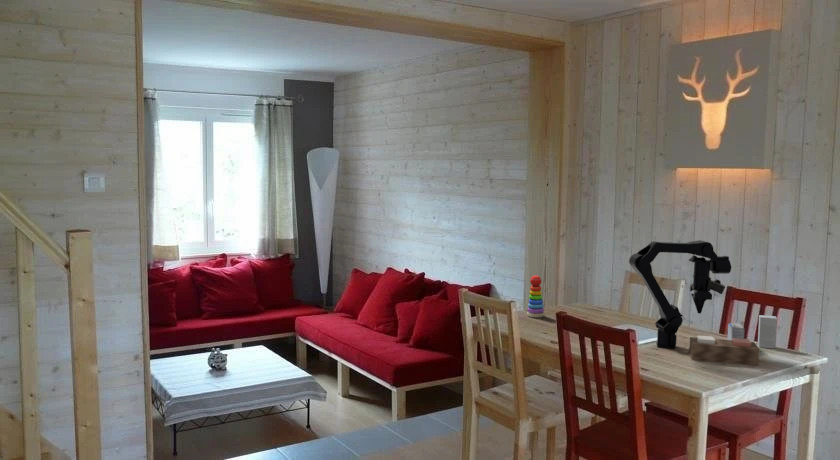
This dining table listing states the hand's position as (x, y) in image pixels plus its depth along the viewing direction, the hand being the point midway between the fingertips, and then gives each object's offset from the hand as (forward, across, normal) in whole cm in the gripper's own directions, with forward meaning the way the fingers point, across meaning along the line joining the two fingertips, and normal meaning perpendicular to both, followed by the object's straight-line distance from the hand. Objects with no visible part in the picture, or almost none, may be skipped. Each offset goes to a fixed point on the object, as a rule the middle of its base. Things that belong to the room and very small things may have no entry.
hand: (699, 313), depth 273 cm
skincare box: (+13, +8, -26) cm, 30 cm away
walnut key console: (+13, -16, -7) cm, 22 cm away
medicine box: (+13, +3, -14) cm, 20 cm away
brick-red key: (+10, -16, -13) cm, 23 cm away
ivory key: (+10, -16, -1) cm, 19 cm away
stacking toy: (+13, +32, +66) cm, 75 cm away
